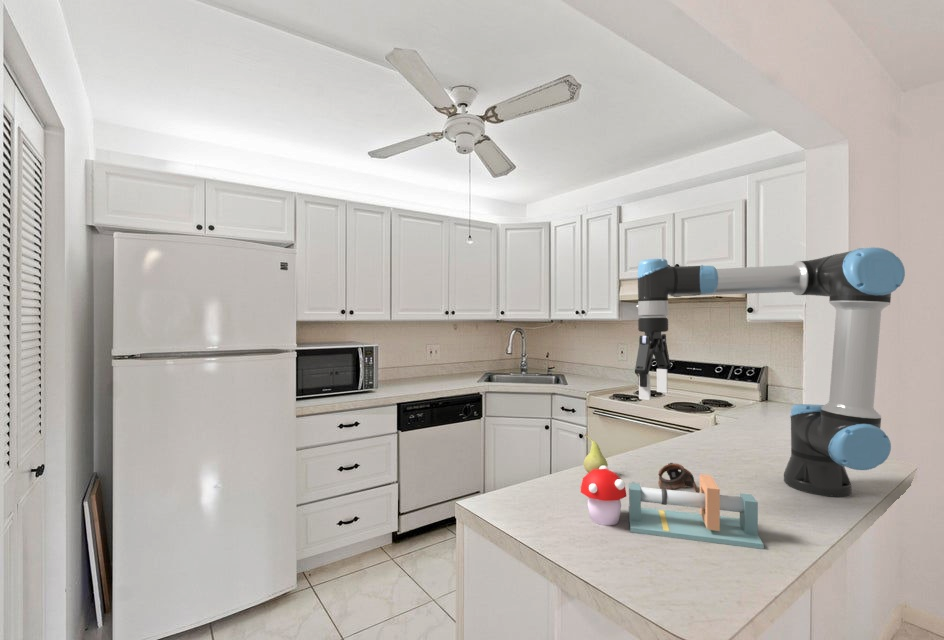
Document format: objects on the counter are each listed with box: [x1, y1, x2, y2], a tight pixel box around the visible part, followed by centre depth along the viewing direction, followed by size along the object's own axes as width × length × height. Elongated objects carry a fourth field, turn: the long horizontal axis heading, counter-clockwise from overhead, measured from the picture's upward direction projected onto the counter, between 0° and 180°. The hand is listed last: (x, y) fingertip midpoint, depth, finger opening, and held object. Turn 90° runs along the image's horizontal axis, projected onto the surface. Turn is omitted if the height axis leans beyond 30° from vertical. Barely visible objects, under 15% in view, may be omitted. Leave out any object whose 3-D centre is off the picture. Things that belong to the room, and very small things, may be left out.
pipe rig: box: [628, 482, 764, 550], centre depth 103 cm, size 26×12×8 cm, turn 73°
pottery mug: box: [658, 462, 699, 493], centre depth 126 cm, size 12×10×8 cm
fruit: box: [583, 433, 609, 474], centre depth 137 cm, size 7×8×12 cm
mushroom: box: [580, 466, 627, 527], centre depth 108 cm, size 11×11×12 cm
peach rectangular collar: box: [699, 473, 721, 531], centre depth 102 cm, size 2×9×9 cm, turn 163°
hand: (653, 395), depth 122 cm, fingers open, 13 cm apart
